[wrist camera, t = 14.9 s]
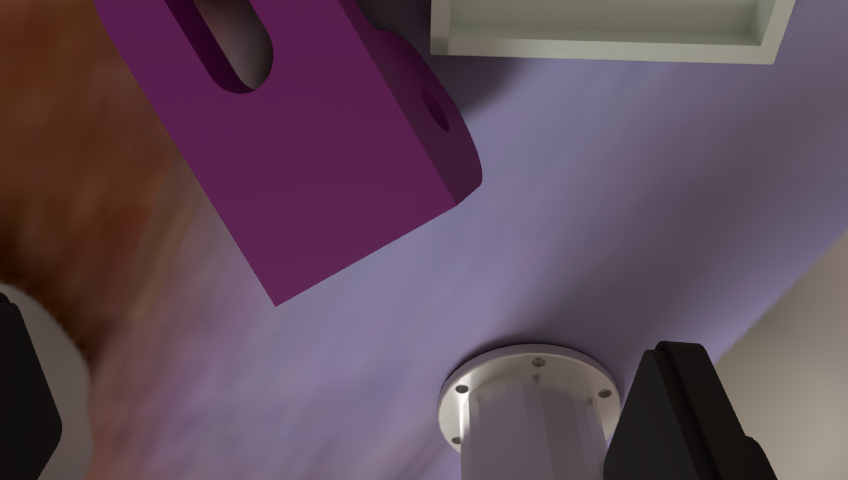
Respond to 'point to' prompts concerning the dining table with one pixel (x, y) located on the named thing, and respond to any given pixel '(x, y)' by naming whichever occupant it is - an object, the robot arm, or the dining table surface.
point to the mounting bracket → (302, 131)
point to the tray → (612, 29)
